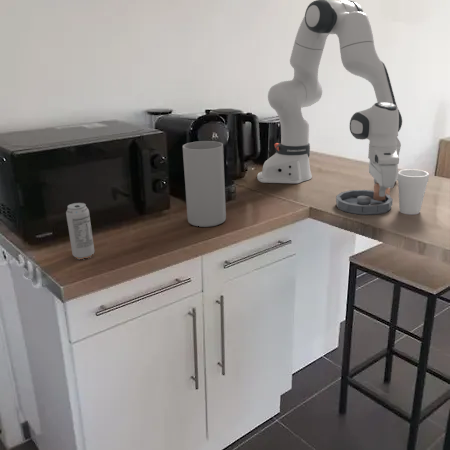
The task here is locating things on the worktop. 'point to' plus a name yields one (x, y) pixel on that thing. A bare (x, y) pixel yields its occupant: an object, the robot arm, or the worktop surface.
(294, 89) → the robot arm
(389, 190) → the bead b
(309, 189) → the worktop surface
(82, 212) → the energy drink can
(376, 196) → the peach egg shape
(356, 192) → the tray
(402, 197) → the foam cup
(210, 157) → the cylinder vase
